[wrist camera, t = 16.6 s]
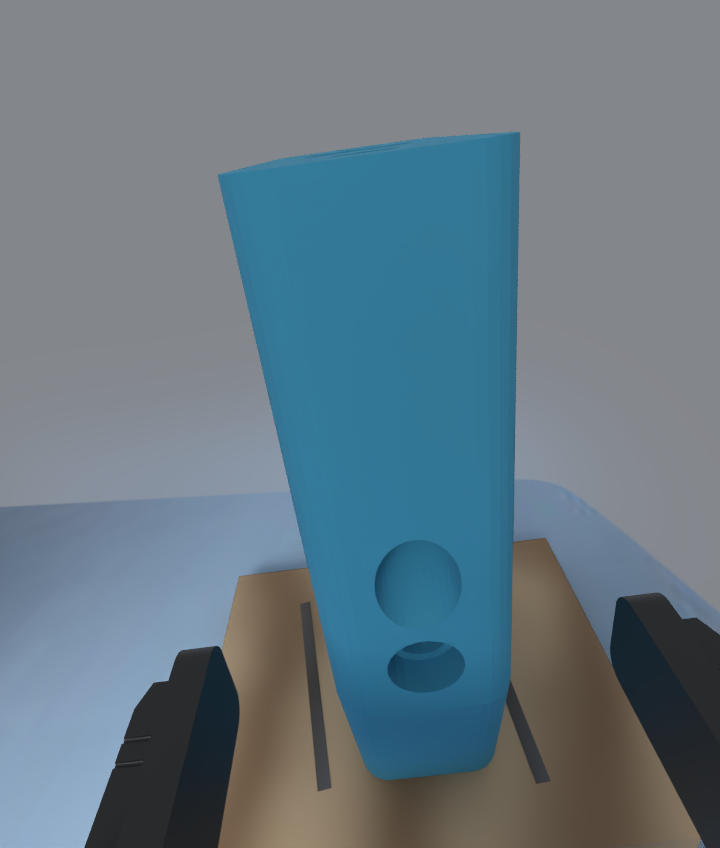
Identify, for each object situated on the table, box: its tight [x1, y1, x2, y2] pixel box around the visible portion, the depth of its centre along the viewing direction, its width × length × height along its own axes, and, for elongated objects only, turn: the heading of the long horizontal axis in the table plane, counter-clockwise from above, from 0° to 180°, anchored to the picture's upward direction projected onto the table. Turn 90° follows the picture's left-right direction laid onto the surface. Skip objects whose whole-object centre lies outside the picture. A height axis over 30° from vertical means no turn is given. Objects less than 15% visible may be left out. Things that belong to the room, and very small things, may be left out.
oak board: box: [218, 538, 701, 848], centre depth 23 cm, size 17×14×2 cm
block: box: [218, 132, 520, 780], centre depth 18 cm, size 12×5×20 cm, turn 2°
